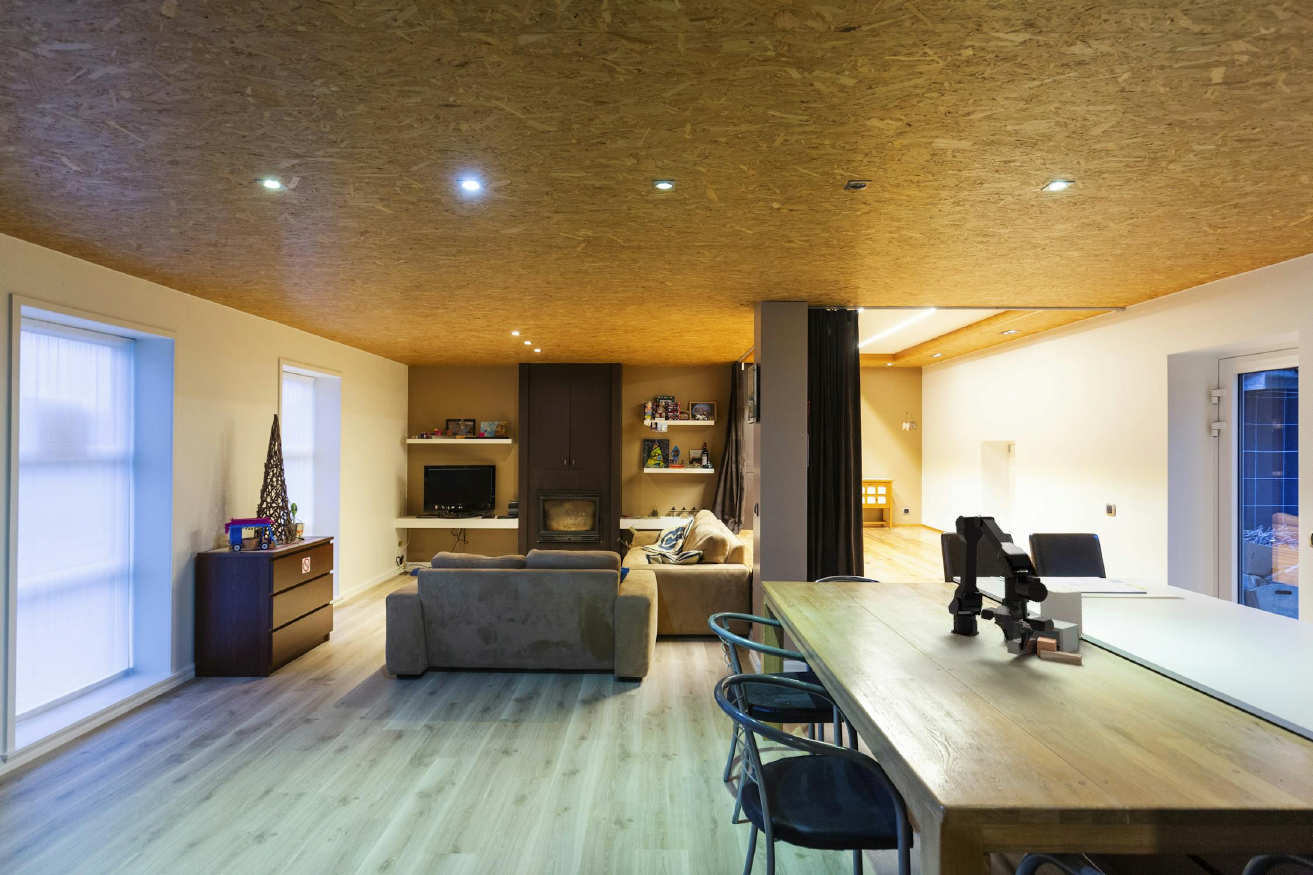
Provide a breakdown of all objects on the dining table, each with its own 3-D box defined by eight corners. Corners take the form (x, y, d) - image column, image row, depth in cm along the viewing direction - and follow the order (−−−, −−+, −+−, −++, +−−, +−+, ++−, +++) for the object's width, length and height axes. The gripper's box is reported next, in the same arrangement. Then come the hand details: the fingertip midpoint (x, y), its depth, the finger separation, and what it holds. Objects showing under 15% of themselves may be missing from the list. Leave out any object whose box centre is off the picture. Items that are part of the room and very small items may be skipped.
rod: (1081, 665, 186) (1080, 656, 186) (1040, 659, 192) (1040, 650, 192) (1081, 663, 188) (1081, 654, 188) (1041, 657, 194) (1041, 648, 194)
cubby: (1003, 640, 211) (1003, 616, 211) (1020, 635, 216) (1019, 612, 216) (1063, 654, 196) (1062, 628, 196) (1079, 649, 201) (1078, 624, 201)
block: (1037, 655, 195) (1037, 640, 195) (1039, 651, 199) (1039, 636, 199) (1054, 658, 192) (1054, 642, 193) (1056, 654, 196) (1056, 639, 196)
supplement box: (1083, 638, 212) (1082, 592, 213) (1055, 638, 212) (1054, 592, 213) (1066, 631, 221) (1065, 586, 222) (1039, 631, 221) (1039, 586, 222)
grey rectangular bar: (1026, 656, 187) (1026, 643, 188) (1000, 651, 192) (1000, 638, 193) (1047, 651, 199) (1047, 639, 199) (1022, 646, 204) (1023, 634, 204)
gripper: (969, 592, 196) (970, 645, 195) (1033, 604, 180) (1034, 661, 180) (990, 588, 202) (991, 639, 201) (1054, 599, 186) (1055, 654, 186)
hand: (1016, 648), depth 192 cm, fingers closed on grey rectangular bar, 3 cm apart
